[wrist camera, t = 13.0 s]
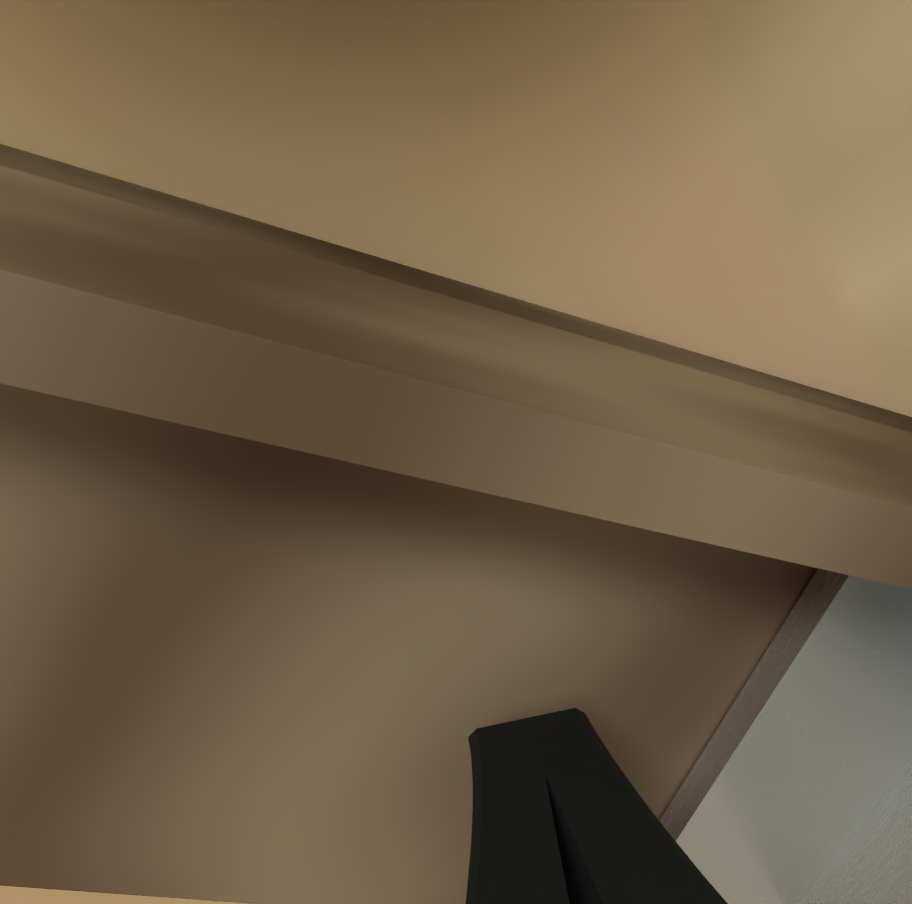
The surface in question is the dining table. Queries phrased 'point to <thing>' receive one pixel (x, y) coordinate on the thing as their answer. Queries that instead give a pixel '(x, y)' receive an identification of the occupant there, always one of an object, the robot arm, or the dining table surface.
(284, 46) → the dining table surface
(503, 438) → the shelf
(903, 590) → the bookend
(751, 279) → the dining table surface
